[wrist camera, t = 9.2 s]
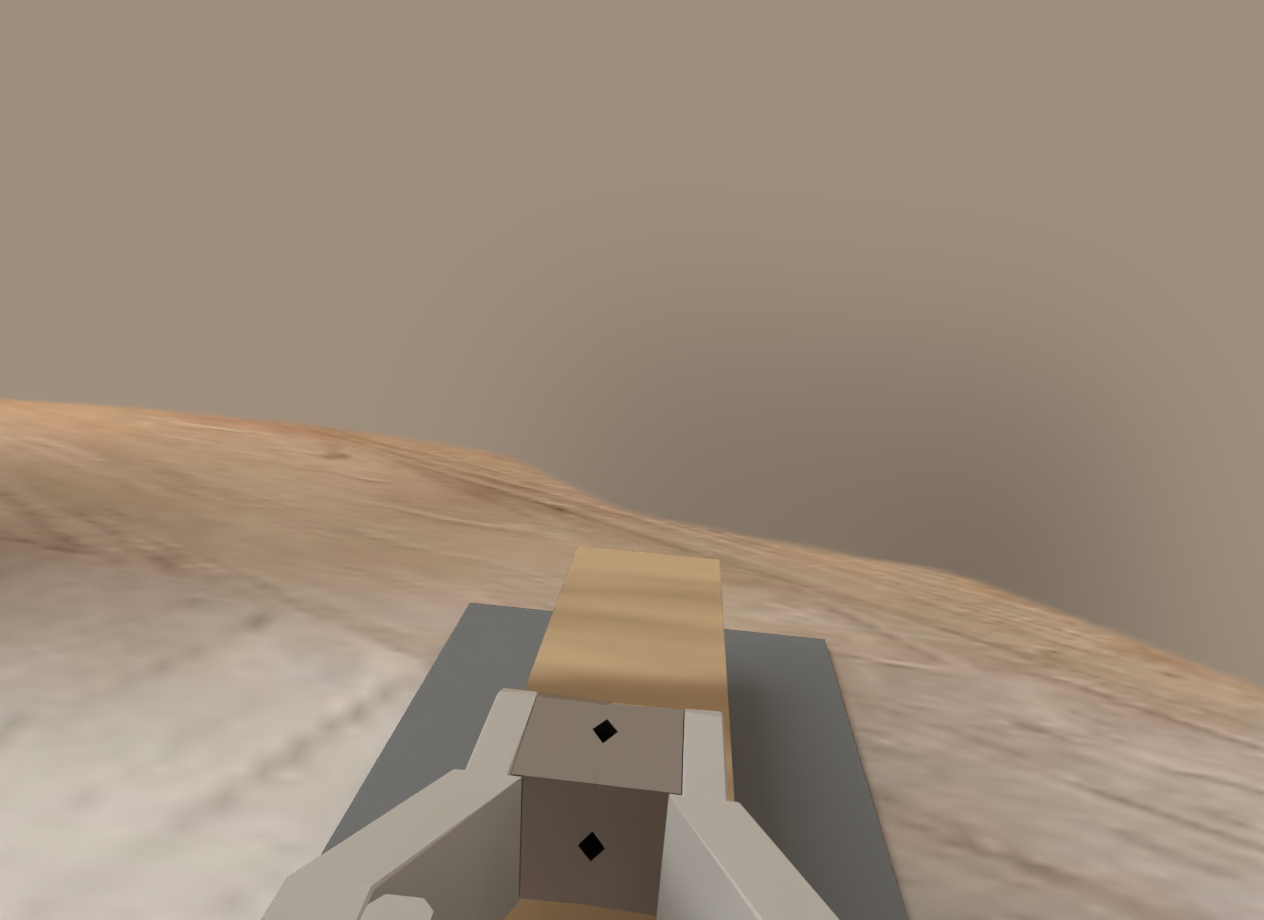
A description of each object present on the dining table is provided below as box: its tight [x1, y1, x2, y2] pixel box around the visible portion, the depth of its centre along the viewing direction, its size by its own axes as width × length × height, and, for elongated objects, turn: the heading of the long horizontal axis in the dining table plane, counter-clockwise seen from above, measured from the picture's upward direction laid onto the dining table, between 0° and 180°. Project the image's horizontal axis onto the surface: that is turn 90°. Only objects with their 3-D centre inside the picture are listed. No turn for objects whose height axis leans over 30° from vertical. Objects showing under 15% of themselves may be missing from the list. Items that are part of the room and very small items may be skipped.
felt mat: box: [321, 603, 908, 920], centre depth 18 cm, size 14×12×1 cm
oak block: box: [503, 546, 734, 920], centre depth 16 cm, size 4×4×12 cm
